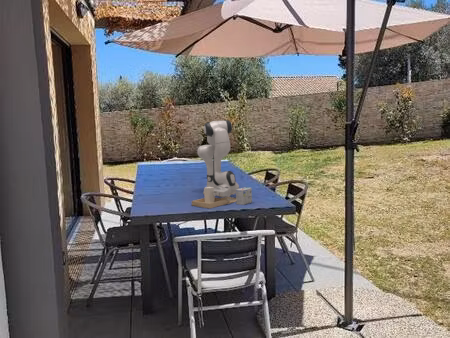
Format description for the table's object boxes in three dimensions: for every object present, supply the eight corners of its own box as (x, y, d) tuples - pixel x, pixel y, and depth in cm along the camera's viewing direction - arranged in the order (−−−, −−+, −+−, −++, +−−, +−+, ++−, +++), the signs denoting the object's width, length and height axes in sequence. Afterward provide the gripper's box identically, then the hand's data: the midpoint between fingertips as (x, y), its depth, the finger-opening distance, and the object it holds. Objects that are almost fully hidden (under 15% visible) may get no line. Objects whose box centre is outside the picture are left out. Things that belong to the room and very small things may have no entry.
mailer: (227, 197, 348) (226, 192, 348) (244, 199, 336) (244, 195, 336) (191, 205, 321) (191, 200, 321) (209, 208, 309) (209, 203, 309)
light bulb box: (245, 201, 330) (244, 187, 328) (252, 202, 326) (252, 187, 324) (235, 204, 322) (235, 189, 320) (243, 205, 317) (243, 190, 316)
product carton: (209, 203, 326) (209, 186, 324) (214, 203, 322) (214, 187, 321) (204, 204, 322) (204, 187, 320) (209, 205, 319) (209, 188, 317)
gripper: (211, 185, 337) (198, 188, 327) (231, 187, 323) (218, 190, 313) (211, 193, 338) (198, 196, 328) (232, 196, 324) (218, 199, 314)
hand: (208, 193), depth 320 cm, fingers open, 8 cm apart
